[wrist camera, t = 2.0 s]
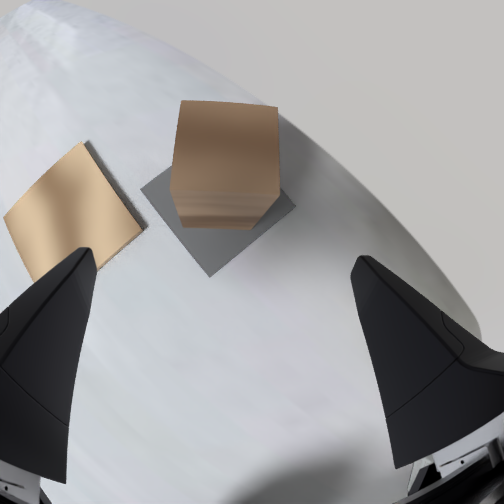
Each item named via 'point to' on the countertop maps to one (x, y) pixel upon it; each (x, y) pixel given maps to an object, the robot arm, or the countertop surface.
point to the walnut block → (225, 164)
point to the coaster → (69, 215)
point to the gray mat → (210, 240)
